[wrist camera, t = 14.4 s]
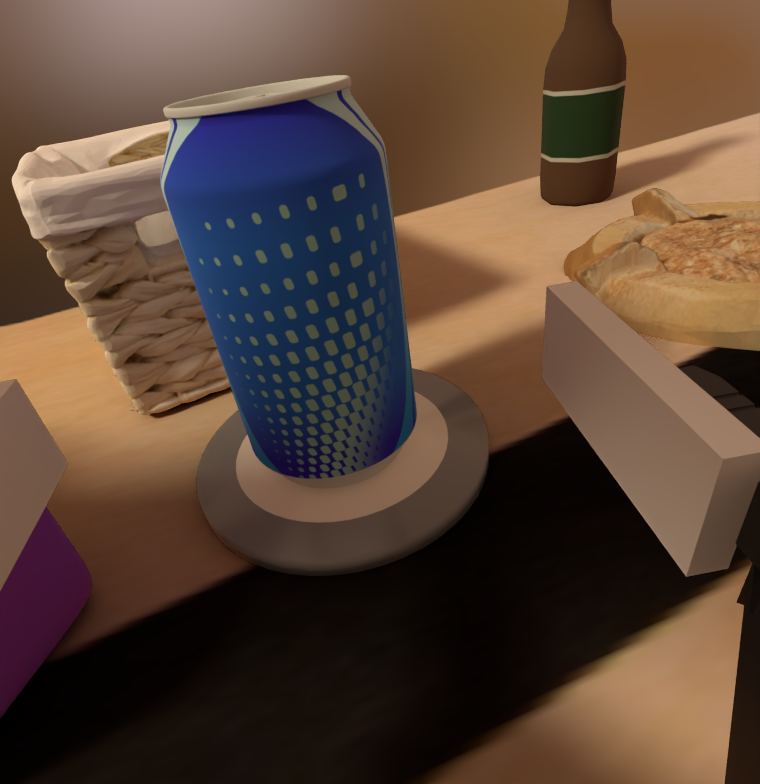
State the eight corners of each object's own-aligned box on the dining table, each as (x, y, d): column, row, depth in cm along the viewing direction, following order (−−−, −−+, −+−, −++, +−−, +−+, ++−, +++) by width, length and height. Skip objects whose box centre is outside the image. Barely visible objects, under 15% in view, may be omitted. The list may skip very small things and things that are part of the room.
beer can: (253, 516, 24) (101, 125, 15) (262, 410, 31) (162, 100, 22) (435, 480, 24) (393, 77, 15) (404, 383, 31) (362, 67, 22)
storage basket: (97, 313, 50) (17, 145, 42) (259, 264, 56) (216, 106, 48) (129, 442, 32) (-1, 190, 24) (364, 350, 38) (324, 119, 29)
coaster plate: (177, 607, 22) (167, 591, 21) (221, 401, 34) (216, 388, 34) (534, 537, 22) (535, 521, 22) (450, 360, 35) (449, 346, 34)
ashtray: (1031, 274, 35) (1077, 195, 32) (823, 419, 26) (861, 329, 23) (689, 210, 52) (699, 156, 50) (501, 284, 44) (501, 224, 41)
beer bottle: (541, 189, 64) (550, -72, 51) (611, 185, 62) (640, -90, 48) (537, 208, 58) (547, -81, 45) (615, 205, 56) (649, -102, 42)
